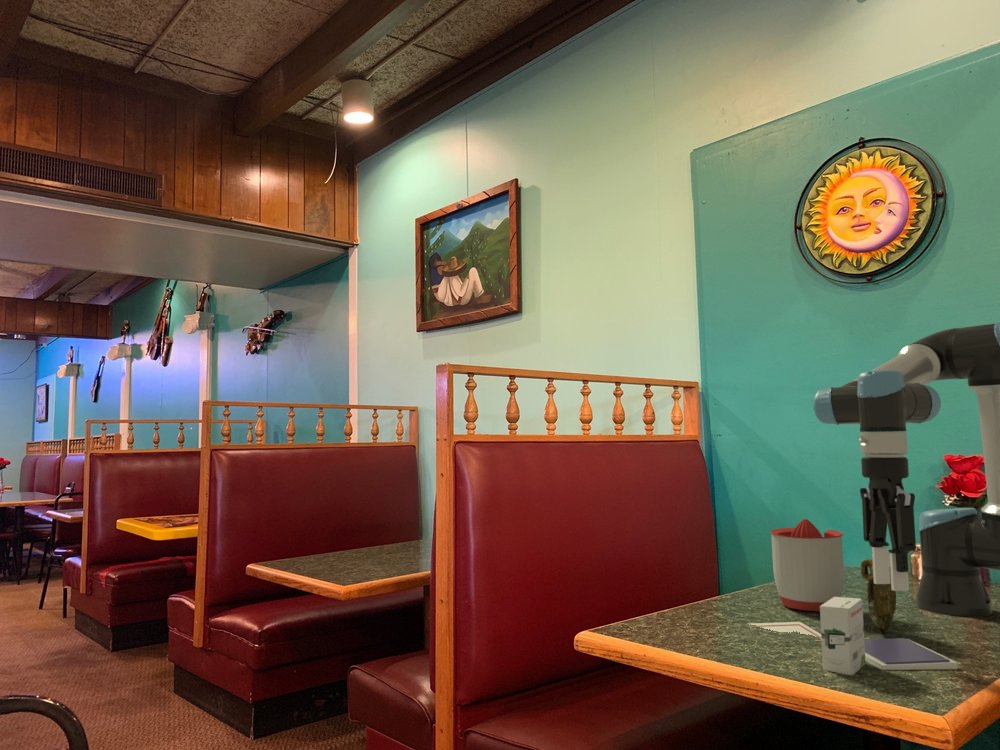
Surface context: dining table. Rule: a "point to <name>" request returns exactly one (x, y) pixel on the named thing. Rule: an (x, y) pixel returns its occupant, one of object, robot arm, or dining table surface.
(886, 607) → the brown mottled tapered part
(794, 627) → the paper
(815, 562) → the citrus juicer
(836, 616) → the ink box
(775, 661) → the dining table surface
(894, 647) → the ink pad
